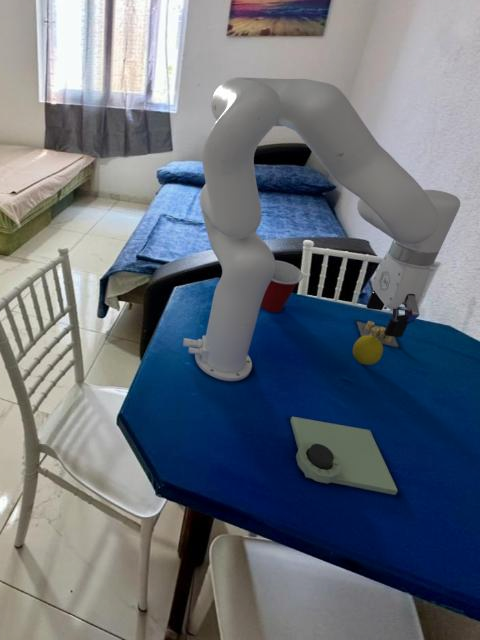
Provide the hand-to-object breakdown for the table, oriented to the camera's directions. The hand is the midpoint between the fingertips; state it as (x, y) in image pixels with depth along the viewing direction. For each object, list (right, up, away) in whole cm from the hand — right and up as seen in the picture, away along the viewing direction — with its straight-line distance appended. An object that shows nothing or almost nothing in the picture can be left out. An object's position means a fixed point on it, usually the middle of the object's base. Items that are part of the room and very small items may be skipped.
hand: (382, 321), depth 89 cm
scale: (-19, -22, -15) cm, 33 cm away
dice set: (+10, -6, +16) cm, 19 cm away
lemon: (-1, -11, +6) cm, 12 cm away
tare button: (-25, -21, -19) cm, 37 cm away
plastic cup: (-14, 0, +25) cm, 29 cm away
